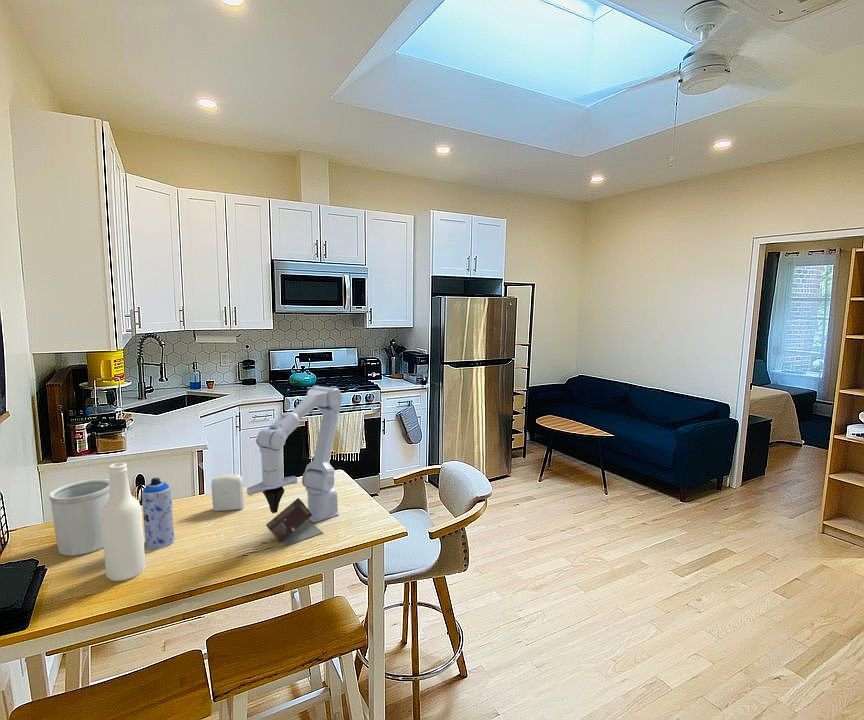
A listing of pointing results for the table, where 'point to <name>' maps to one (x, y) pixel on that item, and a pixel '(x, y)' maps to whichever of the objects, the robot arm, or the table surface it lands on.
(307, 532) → the mat
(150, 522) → the aerosol can
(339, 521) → the table surface
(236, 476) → the photo printer
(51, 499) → the utensil holder
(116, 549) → the alcohol
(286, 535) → the box
